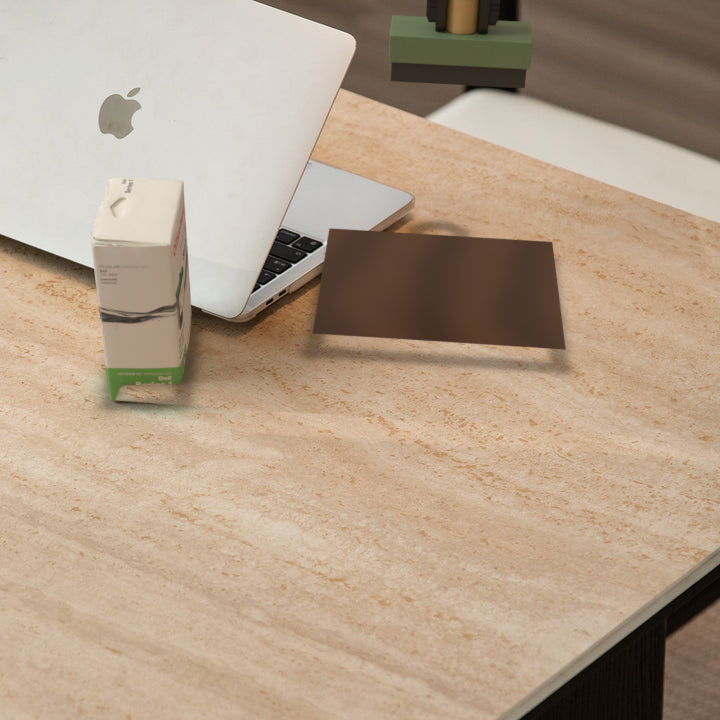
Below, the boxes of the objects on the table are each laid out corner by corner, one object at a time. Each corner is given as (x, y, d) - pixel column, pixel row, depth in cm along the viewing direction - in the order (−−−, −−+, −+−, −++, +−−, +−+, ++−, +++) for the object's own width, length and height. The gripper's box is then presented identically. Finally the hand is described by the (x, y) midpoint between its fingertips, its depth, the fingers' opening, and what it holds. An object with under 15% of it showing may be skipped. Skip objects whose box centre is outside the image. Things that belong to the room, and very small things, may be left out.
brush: (525, 67, 92) (538, -48, 87) (527, 89, 89) (540, -29, 84) (390, 60, 92) (395, -55, 87) (387, 82, 89) (392, -36, 84)
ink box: (183, 403, 79) (173, 244, 72) (105, 402, 79) (87, 243, 72) (194, 326, 86) (186, 174, 79) (122, 325, 86) (108, 173, 79)
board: (549, 258, 95) (552, 241, 94) (562, 366, 84) (565, 348, 83) (328, 244, 96) (329, 227, 95) (312, 351, 84) (312, 332, 84)
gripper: (367, -230, 75) (360, 43, 86) (597, -220, 75) (563, 54, 85) (375, -253, 82) (367, 5, 92) (588, -244, 81) (556, 14, 91)
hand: (461, 27), depth 88 cm, fingers closed on brush, 2 cm apart
